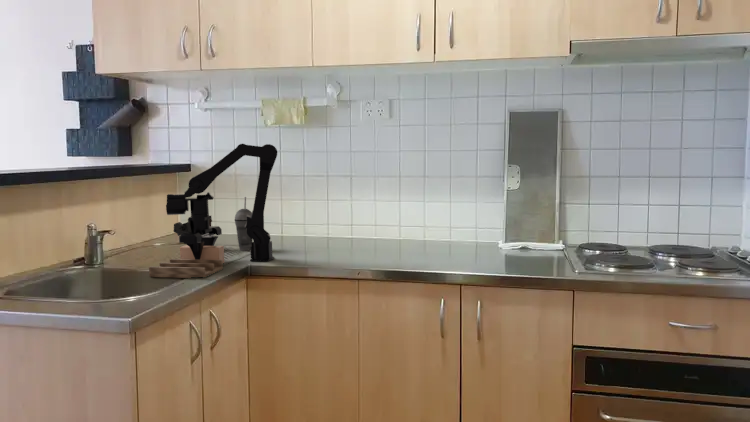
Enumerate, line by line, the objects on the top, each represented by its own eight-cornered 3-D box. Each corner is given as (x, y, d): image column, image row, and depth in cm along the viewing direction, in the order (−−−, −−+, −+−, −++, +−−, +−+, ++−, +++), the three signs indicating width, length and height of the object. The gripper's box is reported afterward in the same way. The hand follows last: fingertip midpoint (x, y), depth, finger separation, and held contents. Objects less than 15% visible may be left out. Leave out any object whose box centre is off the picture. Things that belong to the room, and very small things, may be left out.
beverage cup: (246, 247, 232) (243, 195, 229) (259, 249, 227) (257, 196, 225) (231, 250, 226) (228, 197, 223) (245, 252, 221) (242, 198, 219)
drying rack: (222, 269, 192) (222, 259, 192) (204, 278, 180) (203, 268, 180) (171, 268, 196) (170, 259, 196) (149, 276, 184) (148, 267, 183)
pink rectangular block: (224, 263, 202) (223, 245, 202) (219, 265, 199) (218, 247, 198) (186, 262, 205) (185, 245, 204) (180, 265, 202) (179, 247, 201)
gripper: (191, 210, 211) (194, 254, 213) (162, 217, 193) (165, 265, 194) (221, 210, 209) (223, 254, 210) (194, 217, 190) (197, 265, 192)
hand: (202, 259), depth 202 cm, fingers open, 6 cm apart
